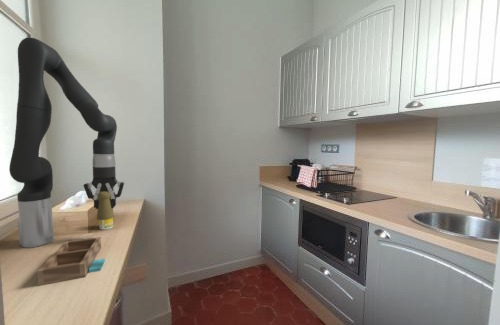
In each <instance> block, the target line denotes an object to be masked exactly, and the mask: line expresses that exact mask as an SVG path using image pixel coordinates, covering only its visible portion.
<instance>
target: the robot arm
mask: <svg viewBox="0 0 500 325" xmlns="http://www.w3.org/2000/svg"><path fill="white" fill-rule="evenodd" d="M17 64H18V66H17V67H18V95H17V104H16V122H15V130H14V132H15V134H14V141H13V142H14V144H13V148H12V154H11V157H10V162H9V168H8V169H9V175H10V177H11V178H12V179H13V180H14V181H15V182H17V183H20V184H21V183H22V184H23V186H22V189H20V191H19V192H18V193H17V195H16V197H17V206H18V207H17V208H18V218H19V219H18V220H17V228H18V229H17V230H18V240H19V246H21V247H22V248H26V249H27V248H35V247H40V246H44V245H47V244H49V243H52V242H53V241H54V240H55V234H54V233H55V232H54V221H53V208H52V206H53V205H52V190H53V189H54V188H53V185H54V183H53V180H54V178H53V175H54V174H53V167H52V164H51V162H50V161H49V160H48V159H46V157H43V156H39V155H40V147H41V145H42V144H41V143H42V141H43V139H44V137H45V135H46V134H47V132H48V130H49V128H50V126H51V121H52V109H53V108H52V106H53V105H52V102H51V100H50V97H49V94H48V91H47V88H46V86H45V82H44V81H45V79H44V74H45V72H46V74H48V75H49V76H50V77H51V78H53V79H54V80H55V81H56V82H57V84H58V85H59V87H60V89H61V90H62V92H63V94H64V96H65V97H66V99H67V100H68V101H69V102H70V103H71V104H72V106H73V107H74V108H75V109H76V110H77V111H78V112H79V114H80V115H81V117H82V119H83V120H84V121H85V123H86V125H87V126H88V127H89V128H90V129H91V130H93V131H94V132H97V137H96V138H95V139H93V141H92V160H91V161H92V180H91V181H90V182H86V183H84V184H83V185H82V187H83V188H84V191H85V194H86V197H87V199H90V200H93V207H94V209H95V210H98V203H99V199H98V197H97V195H98V194H99V192H101V191H109V193H110V194H111V197H112V198H111V208H113V209H114V208H116V206H117V198H120V197H121V196H122V193H123V189H124V186H125V182H124V181H119V180H117V177H116V175H117V174H116V166H117V165H116V156H115V140H116V137H117V136H116V135H117V129H118V126H117V121H116V119H115V117H113V116H111V115H108V114H106V113H103V112H102V111H101V110H100V109H99V104H98V102H97V101H96V100H95V99H94V97H93V96H92V95H91V94H90V93H89V92H88V91H87V90H86V88H84V86H83V85H82V84H81V83H80V82H79V81H78V80H77V78H76V77H75V76H74V75H73V73H72V72H71V70H70V69H69V68H68V66H67V64H66V63H65V61H64V60H63V58H62V57H61V55H60V54H59V53H58V51H57V50H55V49H54V48H53V47H51V46H50V45H48V44H47V43H45V42H43V41H41V40H39V39H37V38H35V37H31V36H30V37H25V38H23V39H21V40H20V42H19V45H18V46H17ZM116 185H117V188H118V190H117V193H116V192H115V189H114V188H115V186H116ZM92 186H93V188H95V192H94V194H93V191H92V189H91V188H92Z"/></svg>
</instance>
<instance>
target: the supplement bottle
mask: <svg viewBox="0 0 500 325" xmlns="http://www.w3.org/2000/svg"><path fill="white" fill-rule="evenodd" d="M98 227H99V229H100V230H101V231H102V230H109V229H112V228H113V227H114V218H111V219H108V220H98Z"/></svg>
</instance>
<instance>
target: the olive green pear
mask: <svg viewBox="0 0 500 325" xmlns="http://www.w3.org/2000/svg"><path fill="white" fill-rule="evenodd" d="M97 197H98V199H99V203H98V209H97V210H96V211H97V212H96V213H97V214H96V220H98V221H99V220H108V219H111V218H113V219H114V218H115V214H114V213H115V212H114V208H111V199H112V197H111V194H110V193H109V191H101V192H99V194H98V195H97Z"/></svg>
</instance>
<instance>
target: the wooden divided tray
mask: <svg viewBox="0 0 500 325" xmlns="http://www.w3.org/2000/svg"><path fill="white" fill-rule="evenodd" d="M101 249H102V238H101V236H98V237H92V238H85V239H77V240H76V239H75V240H71V241H64V242H63V244H61V246H59V248H58V249H57V250H56V251H55V252H54V253H53V254H52V255H51V256H50V257H49V258H48V259H47V260H46V261H45V262H44V263H43V264H42V266H41V267H40V268H38V270H37V271H36V274H37V275H36V276H37V286H43V285H49V284H54V283H59V282H64V281H65V282H66V281H70V280H71V281H72V280H76V279H81V278H86V277H87V275H88V273H93V272H98V271H99V272H100V271H101V270H102V268H103V267H104V264H105V262H106V259H105V258H100V259H96V258H97V256H98V254H99V253H100V251H101Z"/></svg>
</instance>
